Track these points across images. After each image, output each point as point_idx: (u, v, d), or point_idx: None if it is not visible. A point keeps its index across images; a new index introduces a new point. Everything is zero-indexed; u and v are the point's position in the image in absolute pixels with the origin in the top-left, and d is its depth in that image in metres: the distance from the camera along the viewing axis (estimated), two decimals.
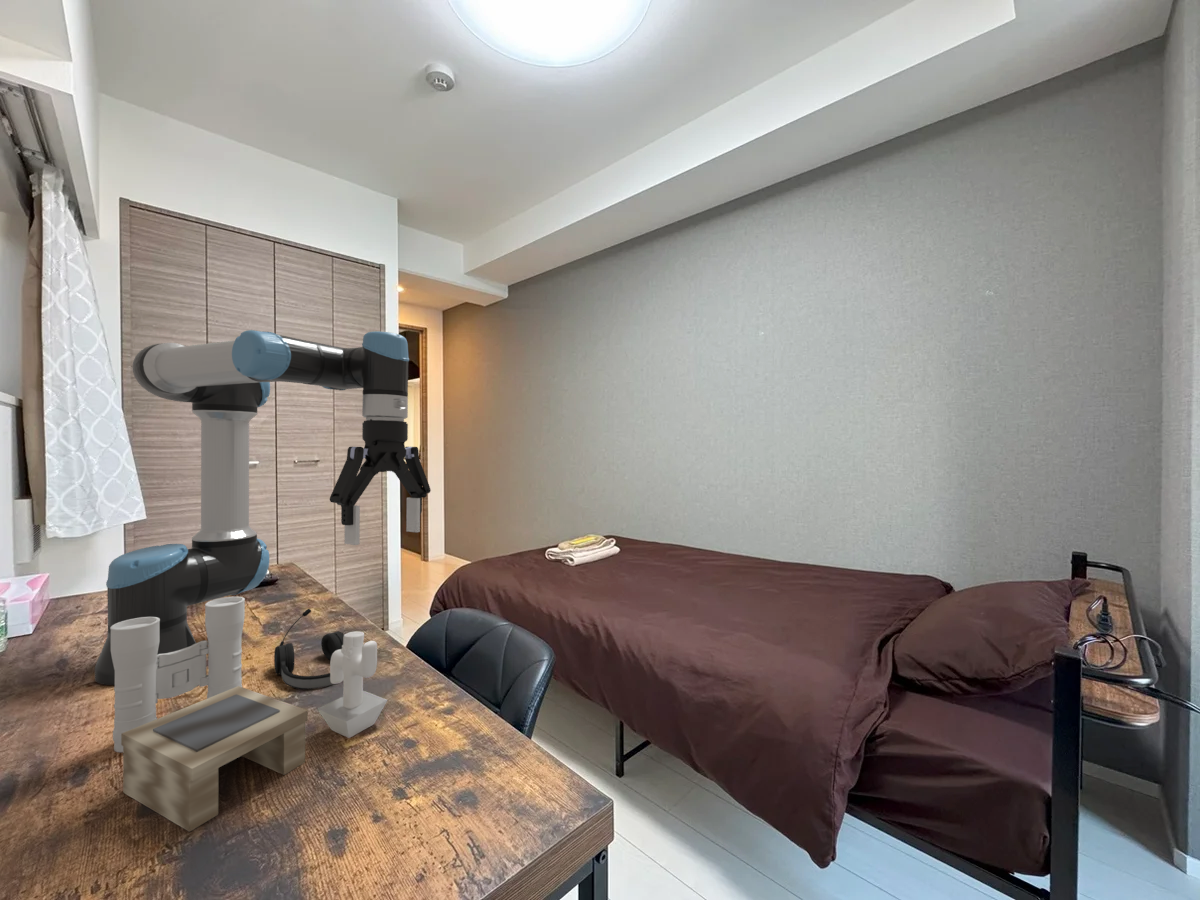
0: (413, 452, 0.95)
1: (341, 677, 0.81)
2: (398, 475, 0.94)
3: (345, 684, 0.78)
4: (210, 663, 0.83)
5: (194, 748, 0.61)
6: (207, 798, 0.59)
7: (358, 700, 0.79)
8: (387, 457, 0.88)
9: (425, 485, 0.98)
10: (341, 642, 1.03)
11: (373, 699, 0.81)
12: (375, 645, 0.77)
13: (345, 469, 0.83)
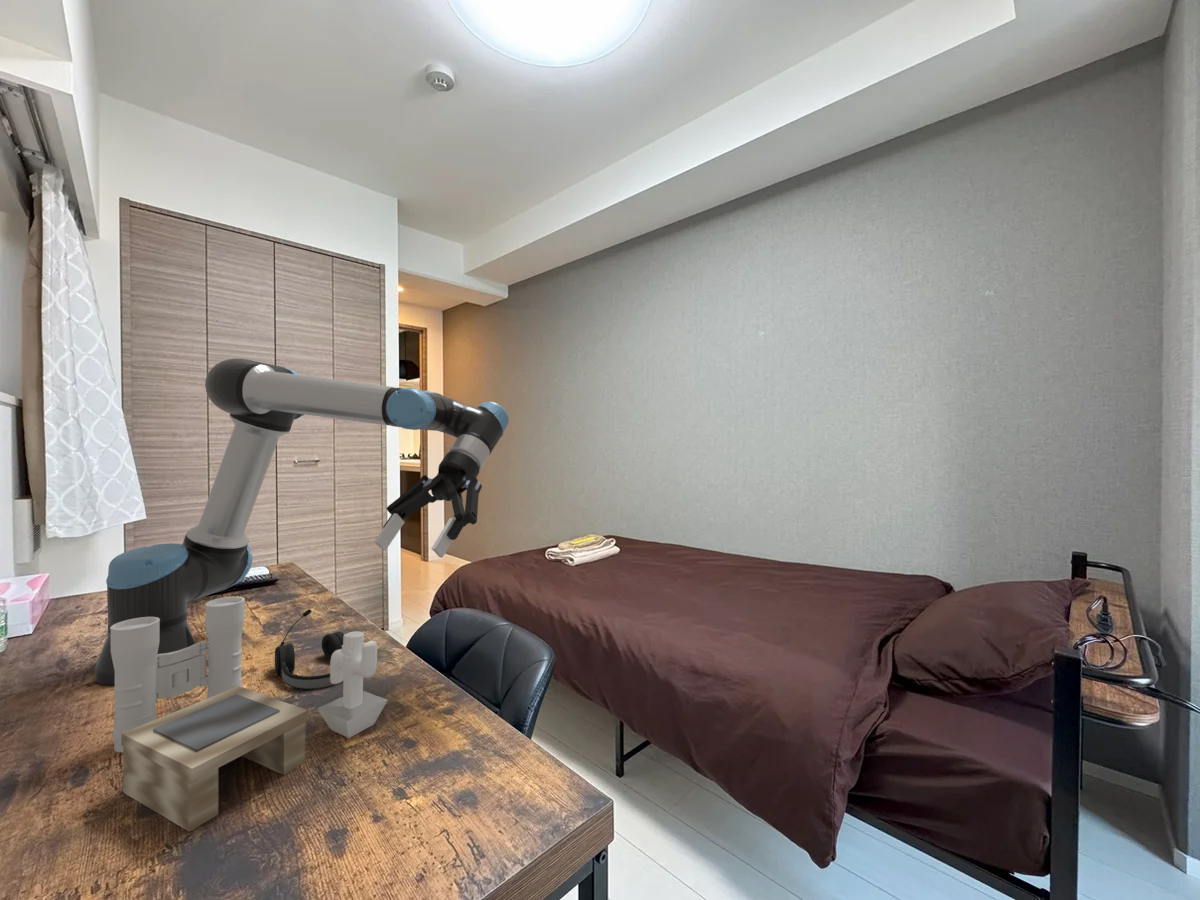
0: None
1: (341, 677, 0.81)
2: (422, 498, 0.97)
3: (345, 684, 0.78)
4: (210, 663, 0.83)
5: (194, 748, 0.61)
6: (207, 798, 0.59)
7: (358, 700, 0.79)
8: None
9: None
10: (341, 642, 1.03)
11: (373, 699, 0.81)
12: (375, 645, 0.77)
13: (474, 495, 0.93)
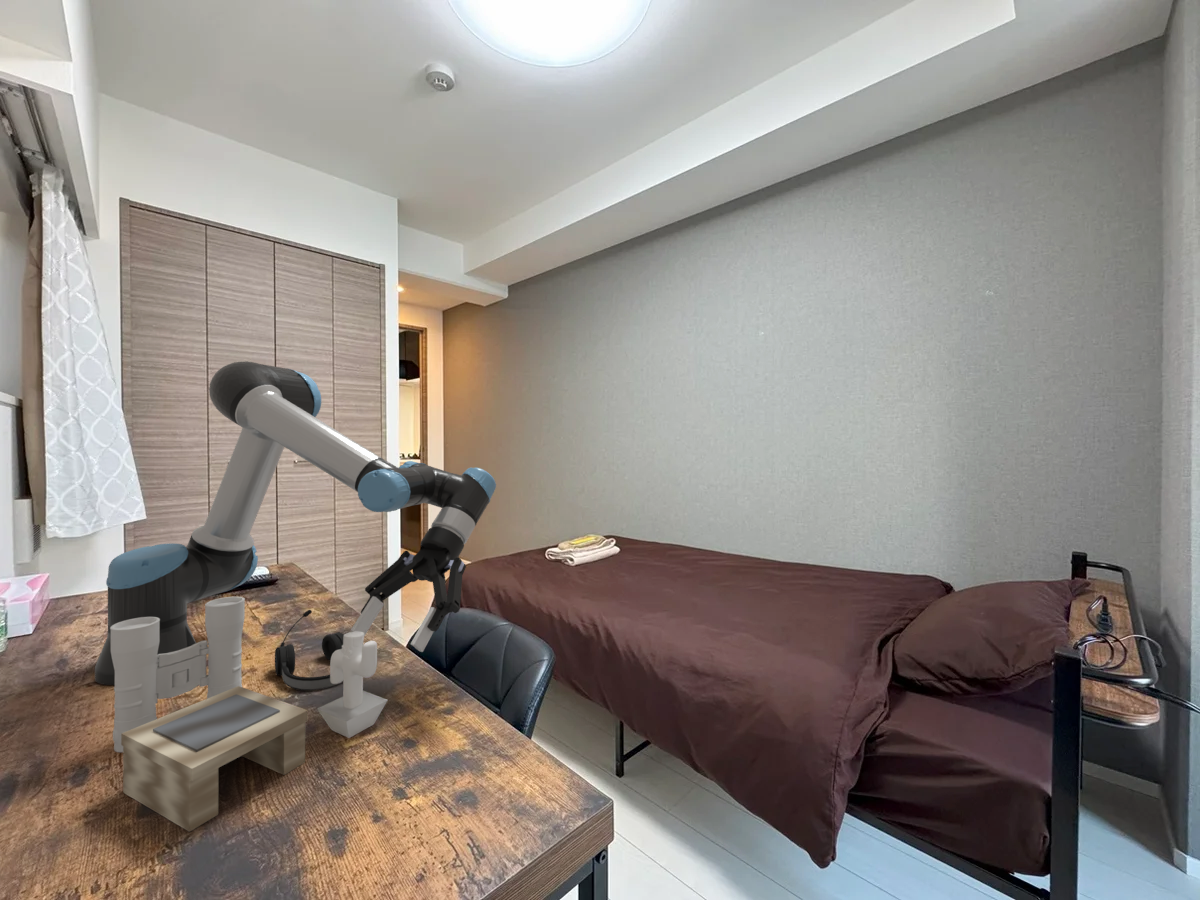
0: None
1: (341, 677, 0.81)
2: (402, 578, 0.92)
3: (345, 684, 0.78)
4: (210, 663, 0.83)
5: (194, 748, 0.61)
6: (207, 798, 0.59)
7: (358, 700, 0.79)
8: None
9: None
10: (342, 643, 1.03)
11: (373, 699, 0.81)
12: (375, 645, 0.77)
13: (457, 579, 0.88)
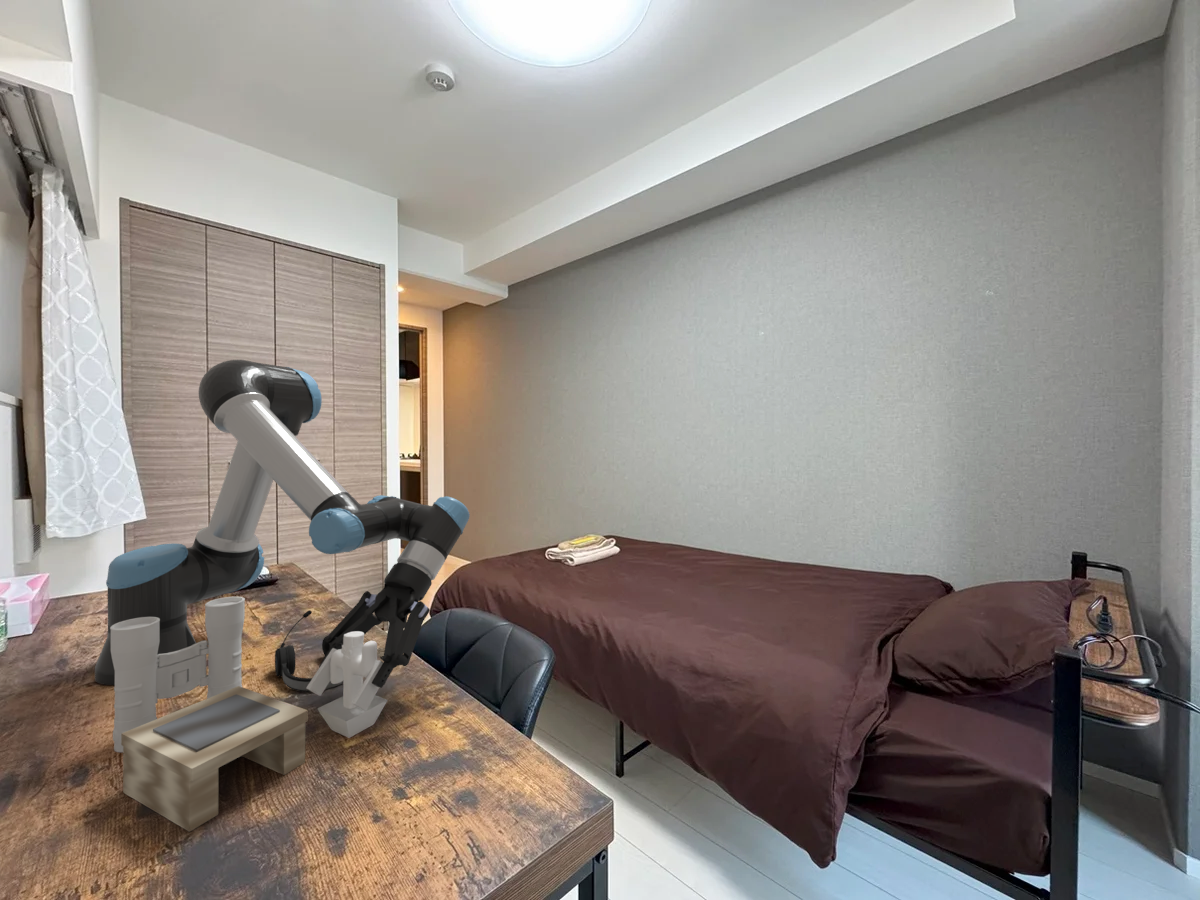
0: None
1: (341, 677, 0.81)
2: (365, 622, 0.85)
3: (345, 684, 0.78)
4: (210, 663, 0.83)
5: (194, 748, 0.61)
6: (207, 798, 0.59)
7: None
8: None
9: None
10: (342, 644, 1.03)
11: (373, 699, 0.81)
12: (375, 645, 0.77)
13: (414, 626, 0.81)
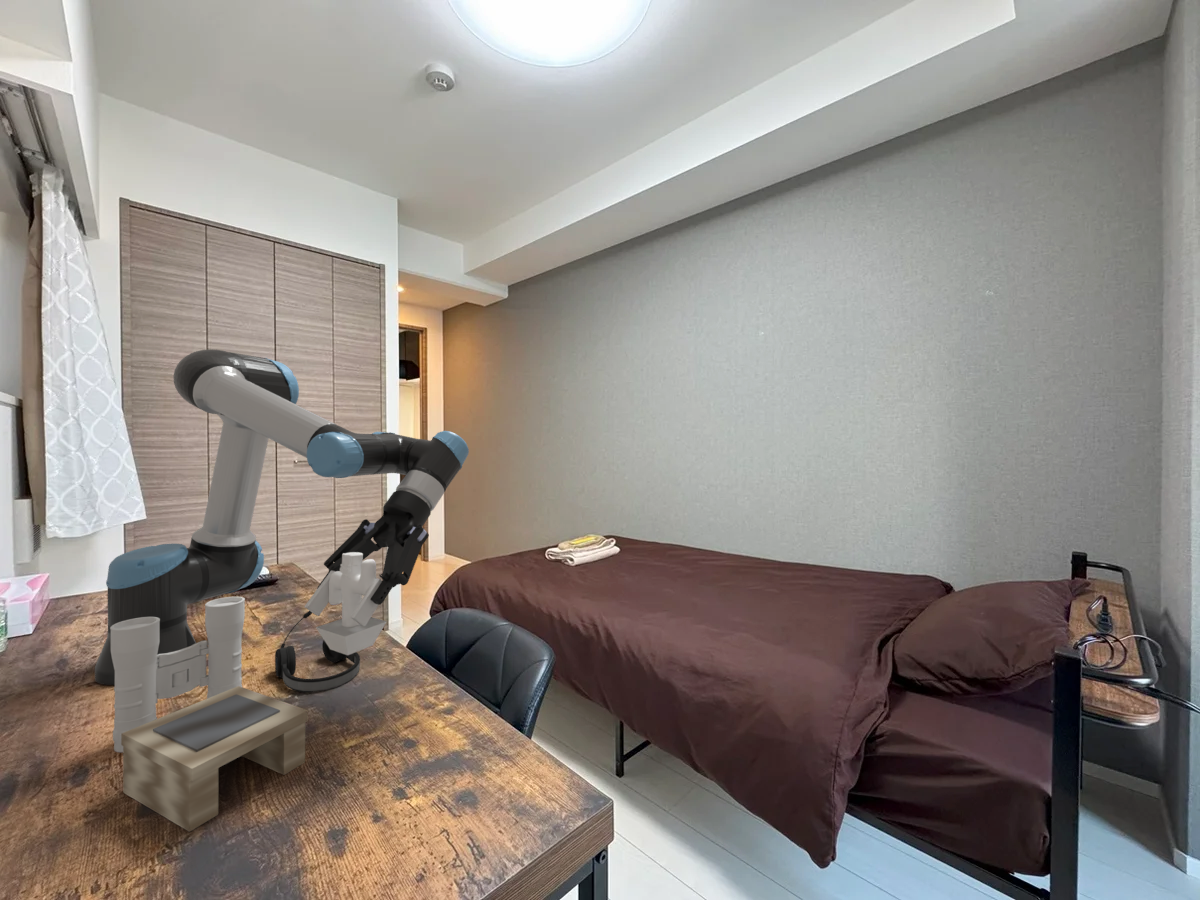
0: None
1: (340, 598, 0.80)
2: (364, 547, 0.84)
3: (344, 603, 0.78)
4: (210, 663, 0.83)
5: (194, 748, 0.61)
6: (207, 798, 0.59)
7: None
8: None
9: None
10: None
11: (371, 621, 0.80)
12: (374, 563, 0.77)
13: (413, 548, 0.81)
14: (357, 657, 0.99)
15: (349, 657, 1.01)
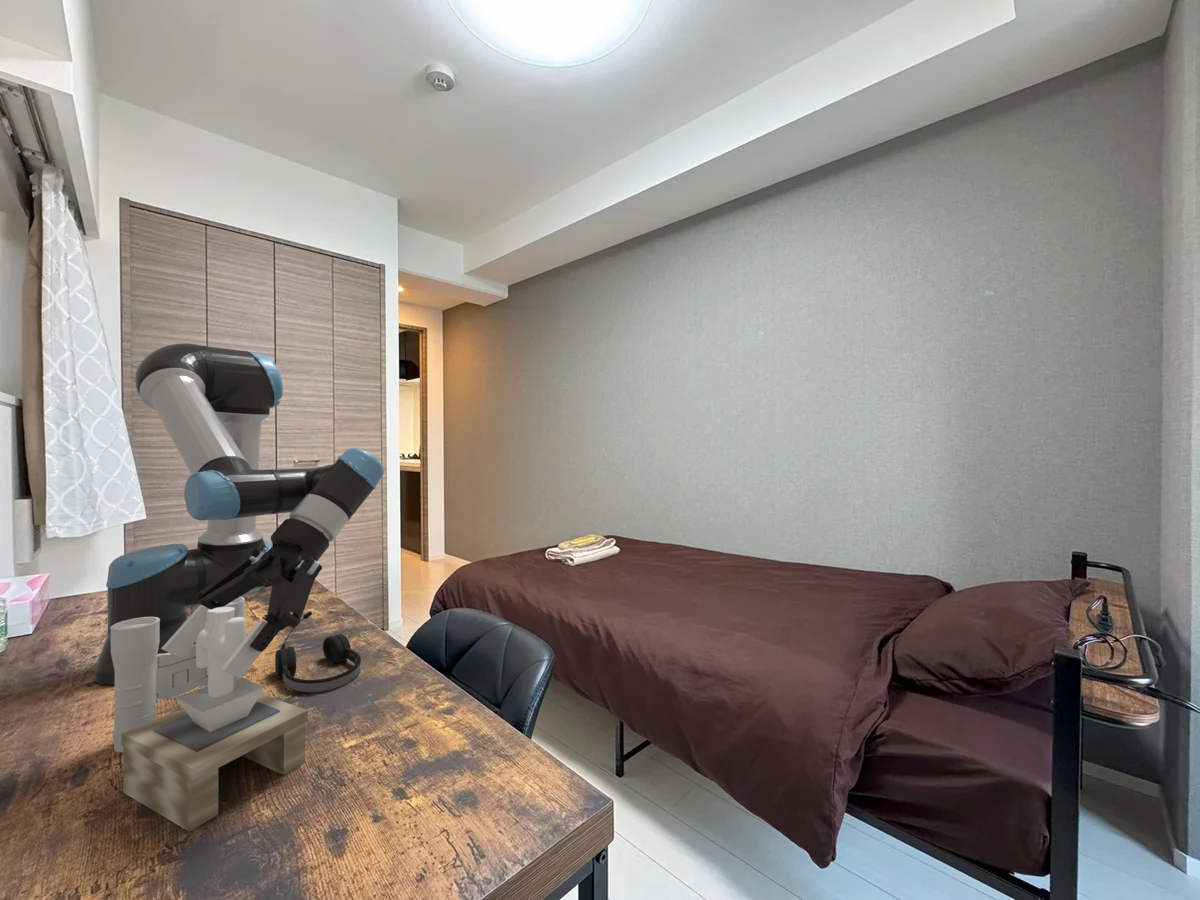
0: None
1: None
2: (242, 582, 0.73)
3: (209, 668, 0.66)
4: None
5: (194, 748, 0.61)
6: (207, 798, 0.59)
7: (226, 687, 0.66)
8: None
9: None
10: (343, 645, 1.02)
11: (247, 687, 0.68)
12: (242, 622, 0.65)
13: (302, 584, 0.69)
14: (358, 658, 0.99)
15: (350, 658, 1.01)
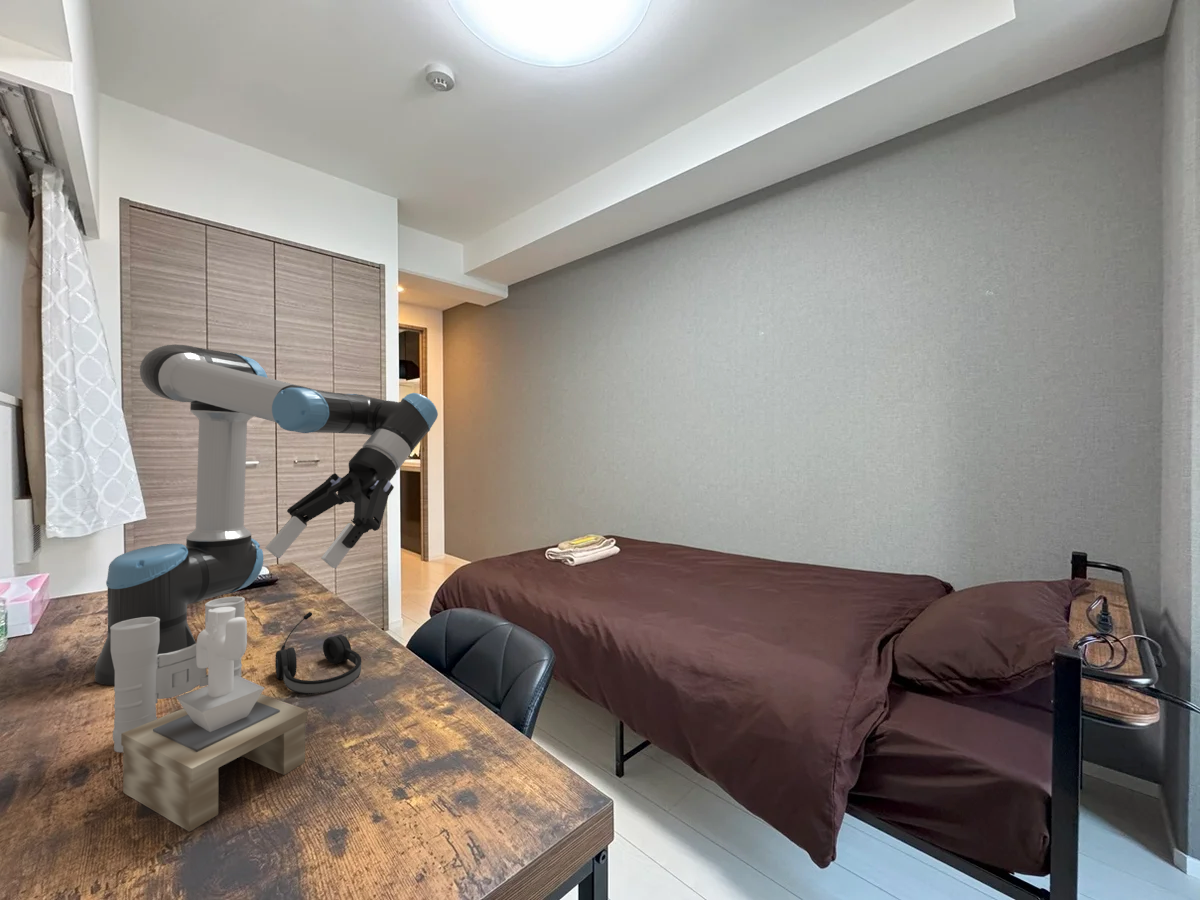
0: None
1: None
2: (326, 499, 0.86)
3: (209, 668, 0.66)
4: None
5: (194, 748, 0.61)
6: (207, 798, 0.59)
7: (226, 687, 0.66)
8: None
9: None
10: (343, 645, 1.02)
11: (247, 687, 0.68)
12: (243, 622, 0.65)
13: (380, 497, 0.83)
14: (358, 658, 0.98)
15: (350, 658, 1.00)
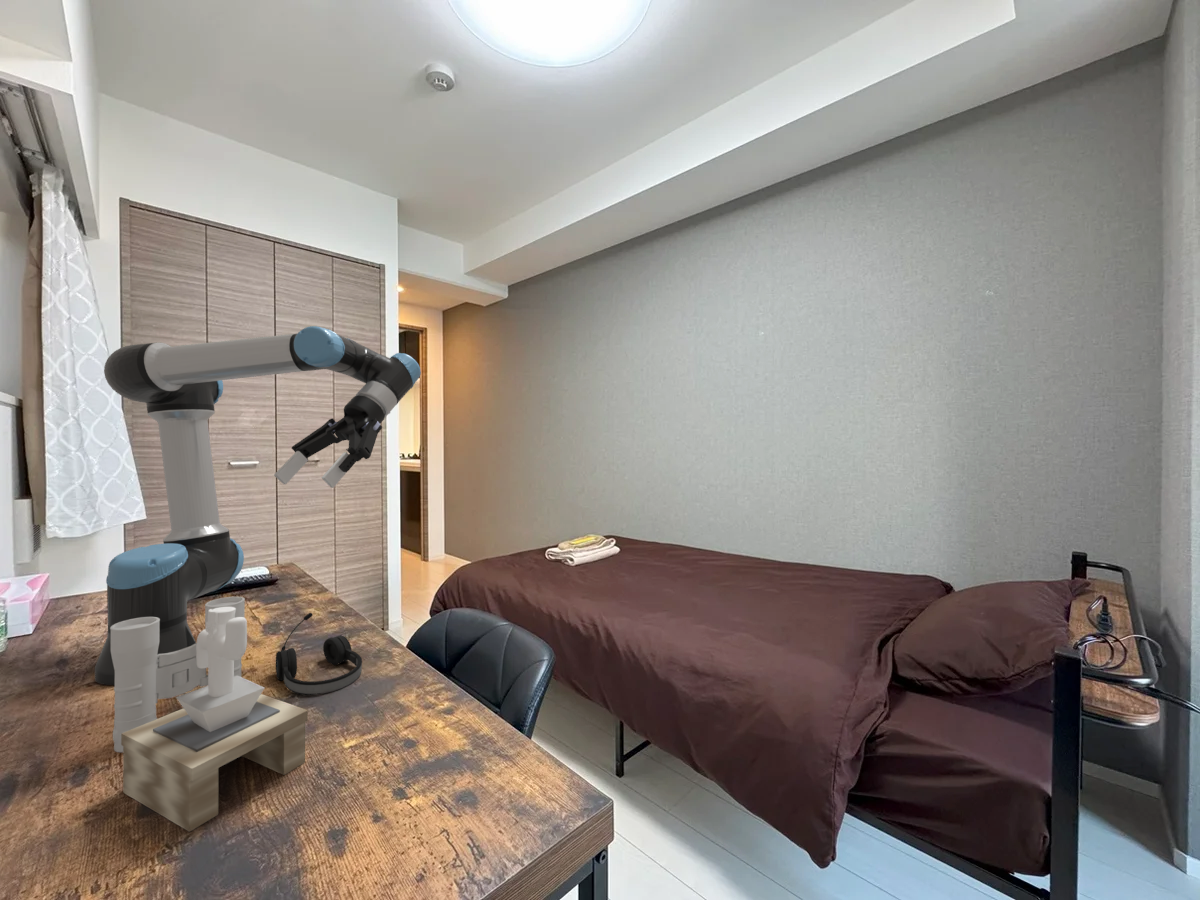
0: None
1: None
2: (325, 438, 1.02)
3: (209, 668, 0.66)
4: None
5: (194, 748, 0.61)
6: (207, 798, 0.59)
7: (226, 687, 0.66)
8: None
9: None
10: (344, 646, 1.01)
11: (247, 687, 0.68)
12: (243, 622, 0.65)
13: (371, 433, 0.98)
14: (359, 659, 0.98)
15: (351, 659, 1.00)
